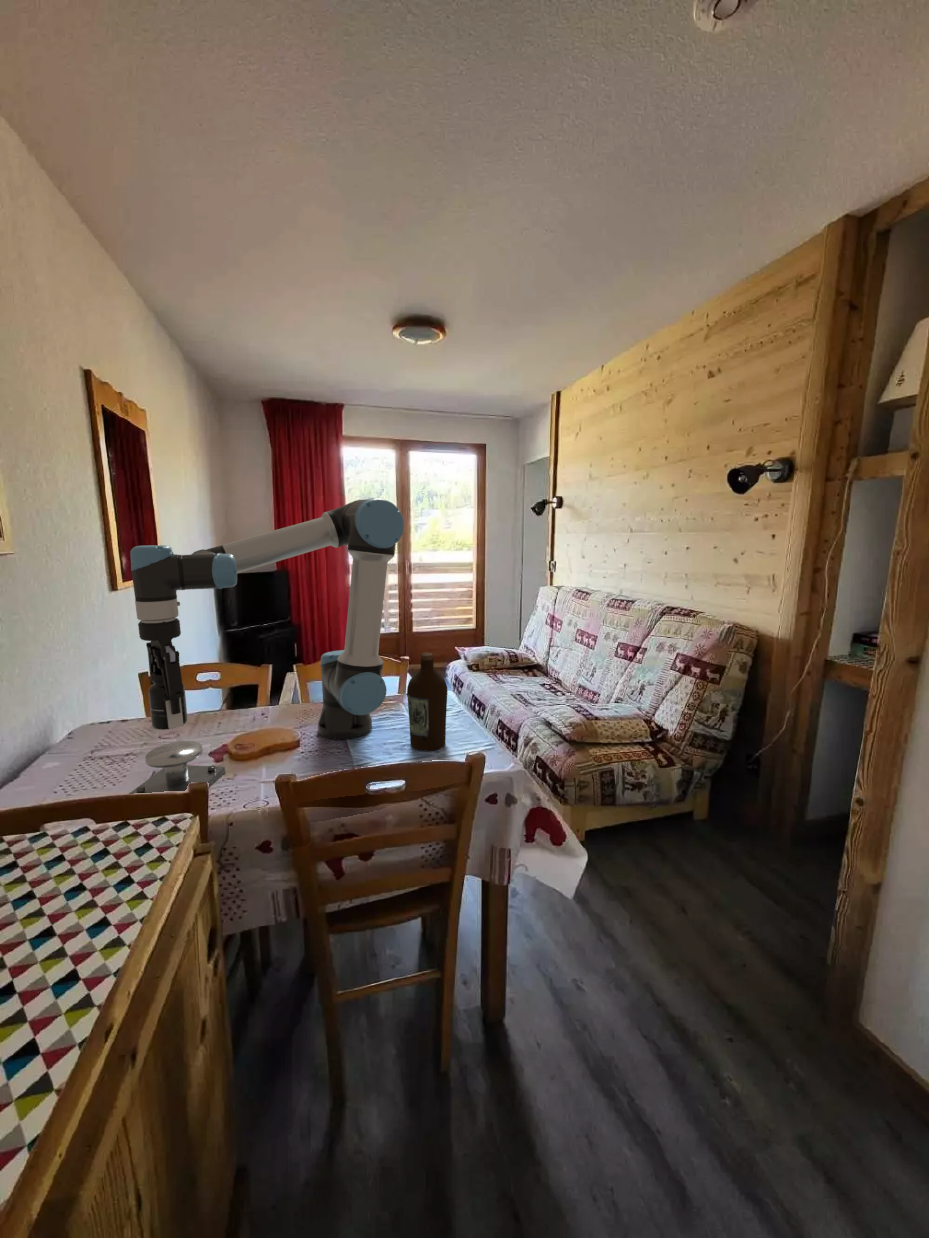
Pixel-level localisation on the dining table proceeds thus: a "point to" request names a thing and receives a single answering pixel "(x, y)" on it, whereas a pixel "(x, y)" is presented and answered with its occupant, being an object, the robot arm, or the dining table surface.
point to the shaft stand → (177, 768)
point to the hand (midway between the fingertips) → (170, 721)
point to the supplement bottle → (162, 702)
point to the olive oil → (427, 707)
